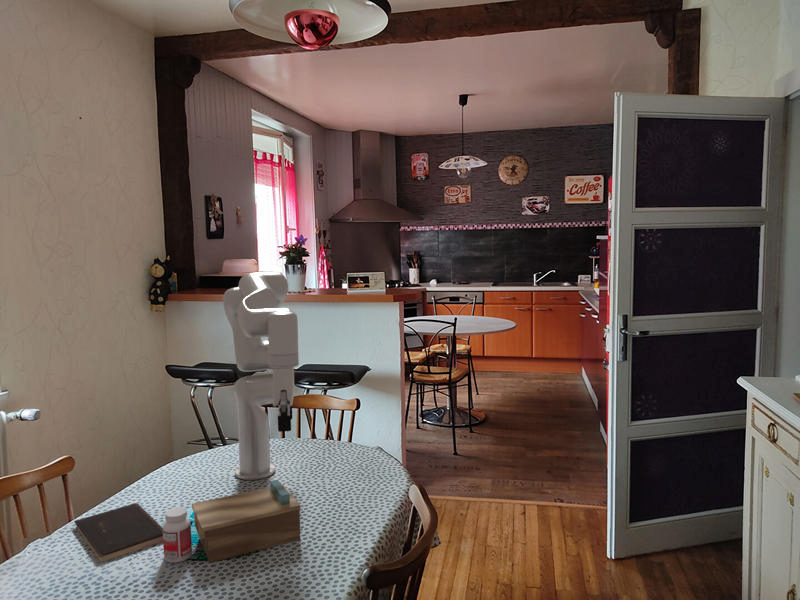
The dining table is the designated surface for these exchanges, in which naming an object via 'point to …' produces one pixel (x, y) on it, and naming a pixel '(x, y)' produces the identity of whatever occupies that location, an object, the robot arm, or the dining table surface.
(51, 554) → the dining table surface
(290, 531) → the brown boxy piece
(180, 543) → the pill bottle
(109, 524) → the hardcover book
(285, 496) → the toolbox lid
